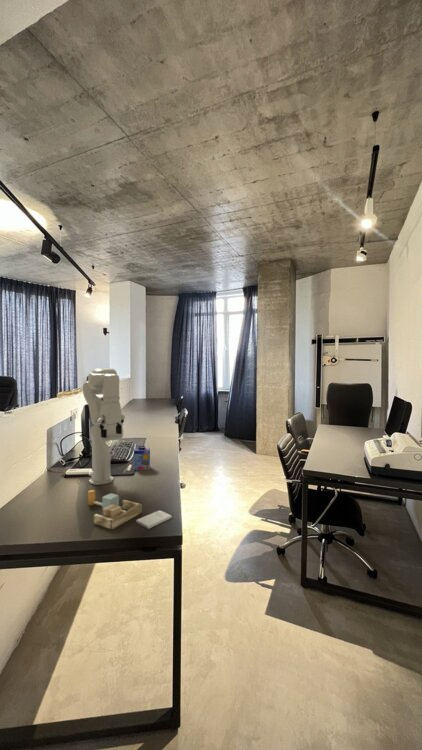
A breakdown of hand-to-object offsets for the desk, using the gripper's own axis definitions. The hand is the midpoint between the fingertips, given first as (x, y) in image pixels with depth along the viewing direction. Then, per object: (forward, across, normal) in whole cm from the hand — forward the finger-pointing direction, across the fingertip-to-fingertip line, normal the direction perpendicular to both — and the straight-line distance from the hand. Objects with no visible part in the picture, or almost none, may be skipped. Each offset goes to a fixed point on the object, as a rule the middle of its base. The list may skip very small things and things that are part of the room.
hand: (111, 435), depth 160 cm
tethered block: (+30, +10, +4) cm, 32 cm away
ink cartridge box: (+31, -42, -17) cm, 55 cm away
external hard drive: (+31, +8, +32) cm, 46 cm away
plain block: (+30, +18, +18) cm, 40 cm away
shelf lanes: (+30, +14, +18) cm, 38 cm away
